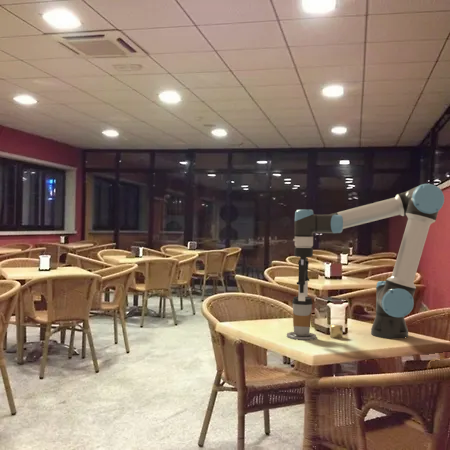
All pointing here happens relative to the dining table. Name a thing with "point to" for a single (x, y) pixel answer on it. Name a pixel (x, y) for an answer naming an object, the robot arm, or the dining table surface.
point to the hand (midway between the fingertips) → (303, 298)
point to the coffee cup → (302, 316)
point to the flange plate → (308, 337)
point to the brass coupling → (336, 331)
